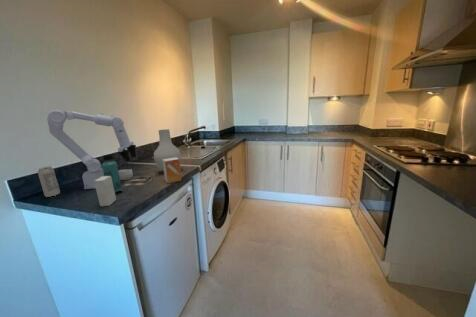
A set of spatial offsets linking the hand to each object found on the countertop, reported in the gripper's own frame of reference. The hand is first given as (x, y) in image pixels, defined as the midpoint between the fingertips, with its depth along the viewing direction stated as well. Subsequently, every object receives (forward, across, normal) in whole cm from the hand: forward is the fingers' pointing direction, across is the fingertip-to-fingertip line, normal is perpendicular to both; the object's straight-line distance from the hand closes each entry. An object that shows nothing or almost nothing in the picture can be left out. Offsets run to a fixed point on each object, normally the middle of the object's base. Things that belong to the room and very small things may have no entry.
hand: (131, 159), depth 123 cm
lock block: (+11, -2, +7) cm, 13 cm away
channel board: (+12, -11, -5) cm, 17 cm away
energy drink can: (+5, -24, +32) cm, 40 cm away
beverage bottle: (+10, -25, 0) cm, 27 cm away
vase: (+16, +8, -17) cm, 24 cm away
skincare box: (+9, -37, -4) cm, 38 cm away
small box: (+15, -11, -25) cm, 31 cm away
